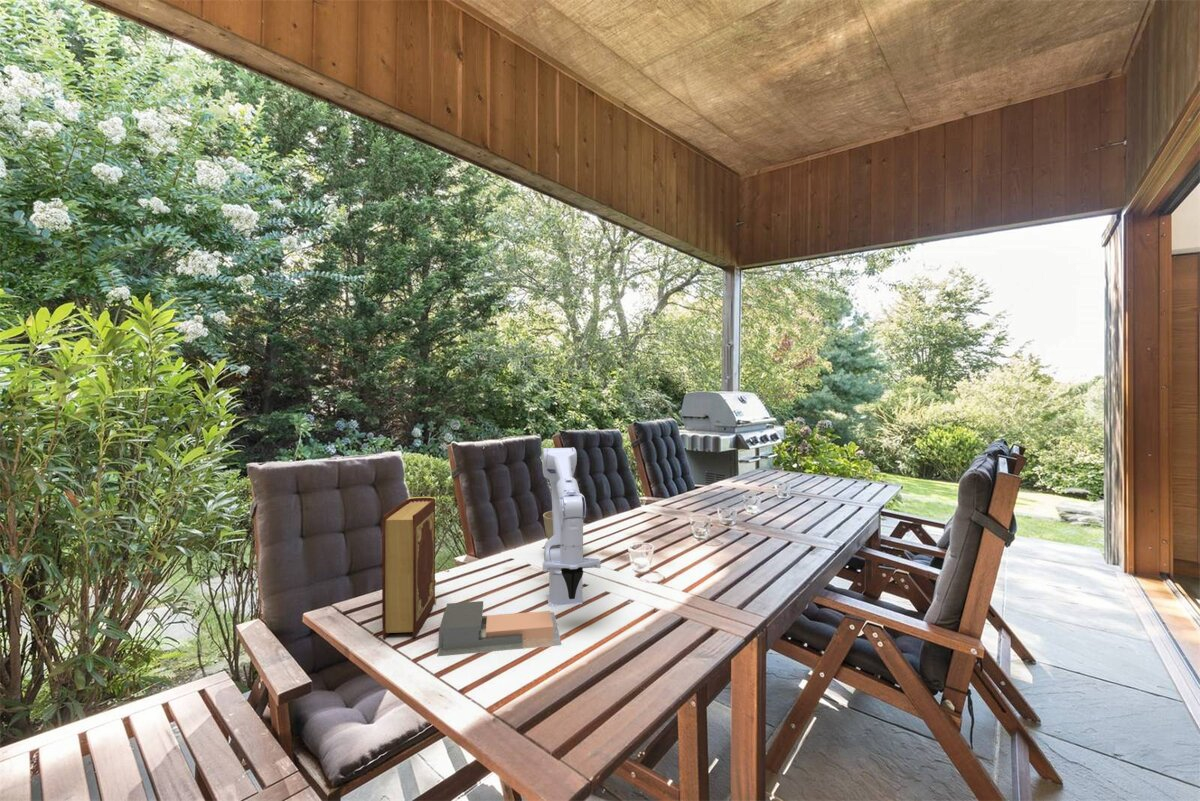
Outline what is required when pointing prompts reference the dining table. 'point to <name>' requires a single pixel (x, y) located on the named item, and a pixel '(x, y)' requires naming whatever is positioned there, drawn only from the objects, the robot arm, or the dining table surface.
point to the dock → (481, 633)
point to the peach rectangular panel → (521, 625)
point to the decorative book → (408, 565)
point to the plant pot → (549, 525)
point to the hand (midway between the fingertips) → (571, 597)
